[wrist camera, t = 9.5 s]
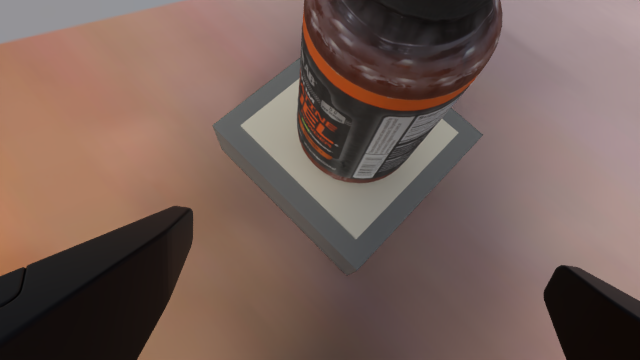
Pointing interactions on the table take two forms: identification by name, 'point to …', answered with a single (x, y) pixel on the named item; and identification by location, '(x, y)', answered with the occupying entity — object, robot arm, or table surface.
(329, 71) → the supplement bottle
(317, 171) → the plinth
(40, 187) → the table surface
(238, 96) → the table surface
